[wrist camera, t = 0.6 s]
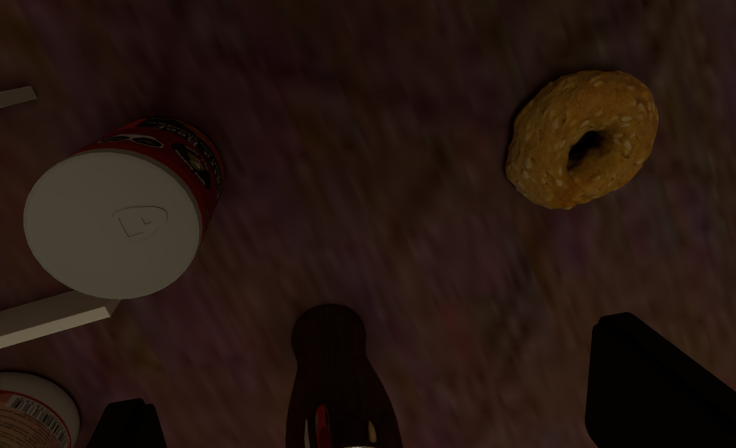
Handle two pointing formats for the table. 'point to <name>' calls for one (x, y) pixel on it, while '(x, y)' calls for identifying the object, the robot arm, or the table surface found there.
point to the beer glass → (337, 386)
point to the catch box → (52, 310)
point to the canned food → (126, 209)
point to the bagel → (568, 124)
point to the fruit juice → (35, 413)
